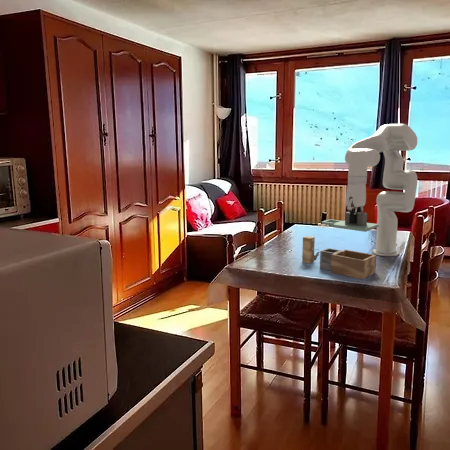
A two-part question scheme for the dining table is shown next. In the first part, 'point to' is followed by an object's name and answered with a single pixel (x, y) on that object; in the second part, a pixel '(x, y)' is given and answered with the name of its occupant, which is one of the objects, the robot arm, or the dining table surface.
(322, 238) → the dining table surface
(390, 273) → the dining table surface
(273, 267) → the dining table surface
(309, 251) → the tan wooden block
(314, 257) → the hacksaw
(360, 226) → the lid
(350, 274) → the toolbox
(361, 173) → the robot arm
